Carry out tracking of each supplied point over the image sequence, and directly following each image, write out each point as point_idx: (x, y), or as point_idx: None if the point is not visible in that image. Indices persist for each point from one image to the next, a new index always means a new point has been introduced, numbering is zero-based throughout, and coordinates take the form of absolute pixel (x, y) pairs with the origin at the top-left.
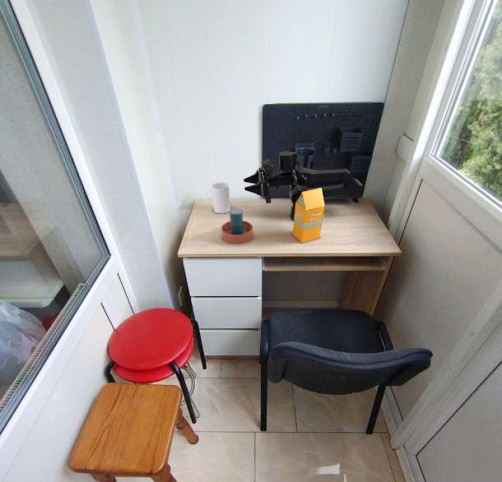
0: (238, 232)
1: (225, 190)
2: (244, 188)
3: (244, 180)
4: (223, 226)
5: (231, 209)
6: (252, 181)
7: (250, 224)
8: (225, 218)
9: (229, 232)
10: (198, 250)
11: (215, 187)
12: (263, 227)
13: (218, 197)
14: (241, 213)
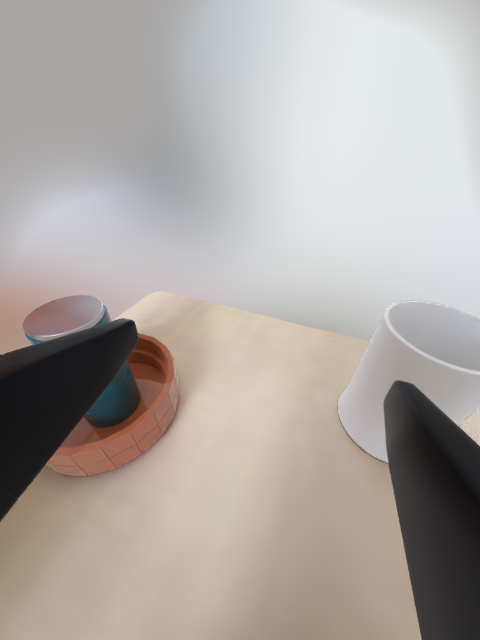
0: None
1: (398, 357)
2: (127, 323)
3: (391, 400)
4: (153, 344)
5: (95, 302)
6: (435, 589)
7: (63, 448)
8: (287, 409)
9: (157, 384)
10: (138, 307)
11: (461, 337)
12: (74, 613)
13: (366, 349)
14: (25, 334)
